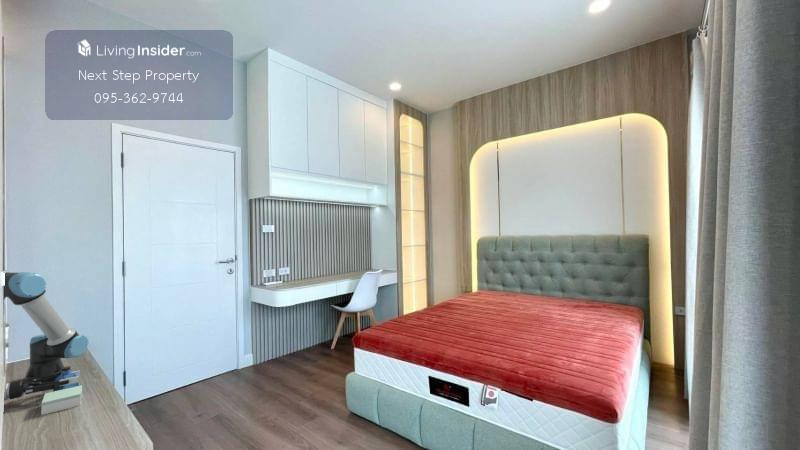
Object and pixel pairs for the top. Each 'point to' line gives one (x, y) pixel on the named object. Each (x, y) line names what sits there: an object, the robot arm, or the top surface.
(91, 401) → the top surface
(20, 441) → the top surface
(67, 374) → the perfume bottle
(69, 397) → the mint green square block
